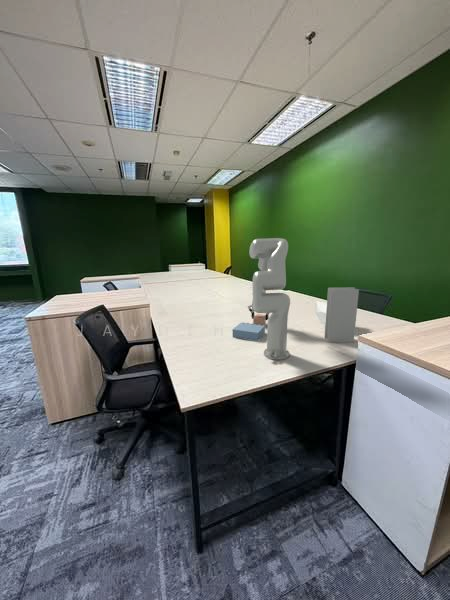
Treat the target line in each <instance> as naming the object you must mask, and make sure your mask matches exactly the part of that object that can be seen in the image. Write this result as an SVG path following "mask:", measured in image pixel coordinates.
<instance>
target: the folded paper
mask: <svg viewBox="0 0 450 600" xmlns="http://www.w3.org/2000/svg"><path fill="white" fill-rule="evenodd" d="M326 310H327V302H323V301H318V300H316V301H315V314H316V316H317V318H318V320H319V323H320V324H321V325H325V323H326Z"/></svg>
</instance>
